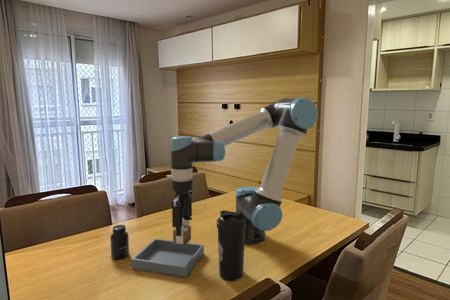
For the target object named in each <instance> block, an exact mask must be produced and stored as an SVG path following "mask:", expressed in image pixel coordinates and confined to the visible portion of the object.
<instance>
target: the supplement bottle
mask: <svg viewBox="0 0 450 300" xmlns="http://www.w3.org/2000/svg"><path fill="white" fill-rule="evenodd" d="M129 240H130V239H129V233H128V231H127V230H126V225H125V224H116V225H114V226H112V233H111V234H110V256H111V258H112V259H114V260H121V259H125V258H127V257H128V256H129V254H130V241H129Z"/></svg>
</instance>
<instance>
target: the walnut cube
mask: <svg viewBox="0 0 450 300" xmlns="http://www.w3.org/2000/svg"><path fill="white" fill-rule="evenodd" d="M182 226H183V235H184V243H183V244H184V245H186V244H187V243H190V241H191V240H192V226H184V225H182ZM172 234H173V235H172V241H173V243H176V227H174V229H173V230H172ZM177 244H178V243H177Z"/></svg>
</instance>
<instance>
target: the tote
mask: <svg viewBox="0 0 450 300" xmlns="http://www.w3.org/2000/svg"><path fill="white" fill-rule="evenodd" d="M204 250H205V245H204V244H202V243H199V244H198V243H191V242H188V243H187V244H186V245H184V244H177V243H173V240H169V239H161V238H154V239H153V240H151V242H149V243H148V244H147V245H146V246H145V247H144V248H142V249H141V250H140V251H139V252H138V253H136V254H135V255H134V256H133V257H132V258H131V260H130V262H131V270H133V271H139V272H146V273H151V274H152V273H153V274H157V275H164V276H169V277H176V278H182V279H188V277H189V276H190V274H191V273H192V272H193V270H194V269H195V268H196V266H197V265H198V263H199V262H200V260H201V259H202V258H203V256H204V255H205V251H204Z"/></svg>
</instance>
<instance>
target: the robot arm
mask: <svg viewBox="0 0 450 300" xmlns="http://www.w3.org/2000/svg"><path fill="white" fill-rule="evenodd" d="M318 117H319V112H318V108H317V106H316V103H315V102H314V101H313V100H311V99H309V98H306V97H301V96H299V97H290V98H289V97H286V98H282V99H279V100H277V101H274V102H272V103H270V104H268V105H266V106H264V107H262V108H260V110H259V111H258V112H256V113H254V114H251V115H249V116H246V117H244V118H242V119H239V120H236V121H234V122H232V123H230V124H228V125H226V126H223V127H221V128H218V129H216V130H214V131H211V132H209V133H206V134H204V135H201V136H196V137H193V138H192V137H191V136H189V135H188V136H187V135H181V136H180V135H179V136H173V137H171V140H170V162H171V163H170V166H171V169H170V172H171V190H172V191H174V192H175V194H174V195H175V196H174V200H171V202H170V203H171V210H172V211H171V217H172V218H171V219H172V220H171V222H172V228H176V243H178V244H183V243H184V235H183V226H182V225H184V226H190V221H191V220H193V217H192V216H193V207H192V206H193V205H192V204H193V201H192V200H193V191H192V190H193V186H194V184H193V177H194V176H193V175H194V174H193V163H208V162H209V163H210V162H214V163H216V162H220V161H223V160H224V159H225V156H226V146H228V145H231V144H233V143H235V142H237V141H239V140H240V141H241V140H242V139H245V138H247V137H249V136H251V135H254V134H256V133H258V132H261V131H262V130H264V129H269V130H271V129H273V128H276V127H277V129H278V134H277V137H276V140H275V143H274V146H273V149H272V151H271V155H270V157H269V161H268V163H267V166H266V170H264V171H265V172H264V174H263V177H262V180H261V183H260V186H259V187H258V186H243V187H239V188H237V189H236V191H235V212H237V211H238V210H240V211H241V212H242V214H243V217H244V219H245V220H246V228H245V241H244V245H252V246H253V245H257V244H261V243H263V242H264V241H266V232H267V231H268V232H269V231H271V230H273V229H275V228H277V227H278V226H279V225H280V223H281V222H282V220H283V211H282V208H281V206H282V202H283V199H282V197H281V194H282V191H283V189H284V188H283V187H284V185H285V182H286V179H287V177H288V174H289V171H290V168H291V165H292V163H293V159H294V157H295V154H296V151H297V148H298V145H299V143H300V140H301V138H303V137H305V136H306V134H307V131H309V130H308V129H310V128H312V127H313V126H315V125H316V123H317V121H318Z"/></svg>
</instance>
